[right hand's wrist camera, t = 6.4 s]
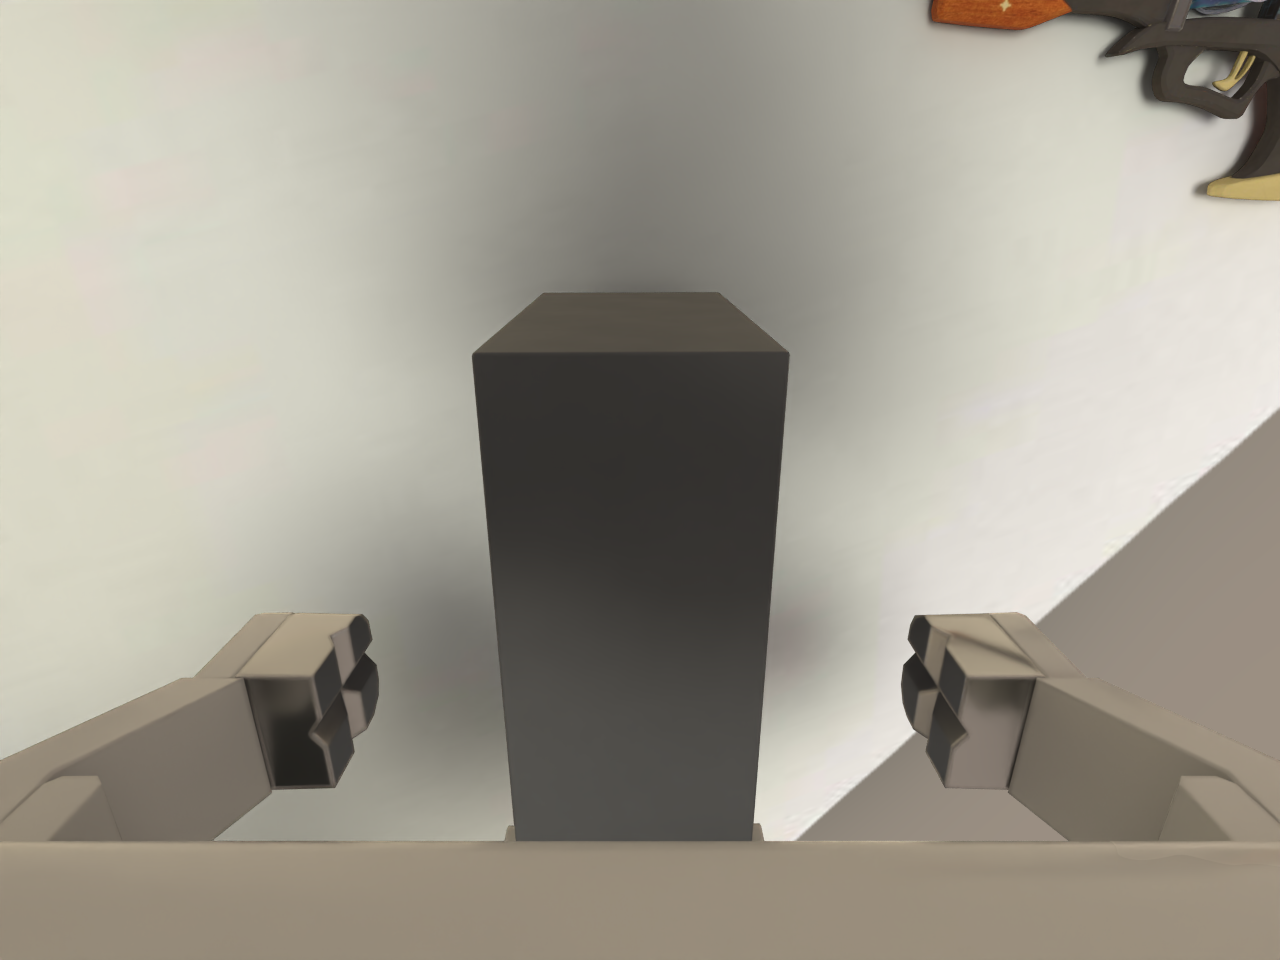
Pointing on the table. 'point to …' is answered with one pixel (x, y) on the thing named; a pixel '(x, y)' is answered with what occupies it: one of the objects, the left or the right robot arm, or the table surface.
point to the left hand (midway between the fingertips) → (635, 836)
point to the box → (632, 559)
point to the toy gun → (1174, 61)
